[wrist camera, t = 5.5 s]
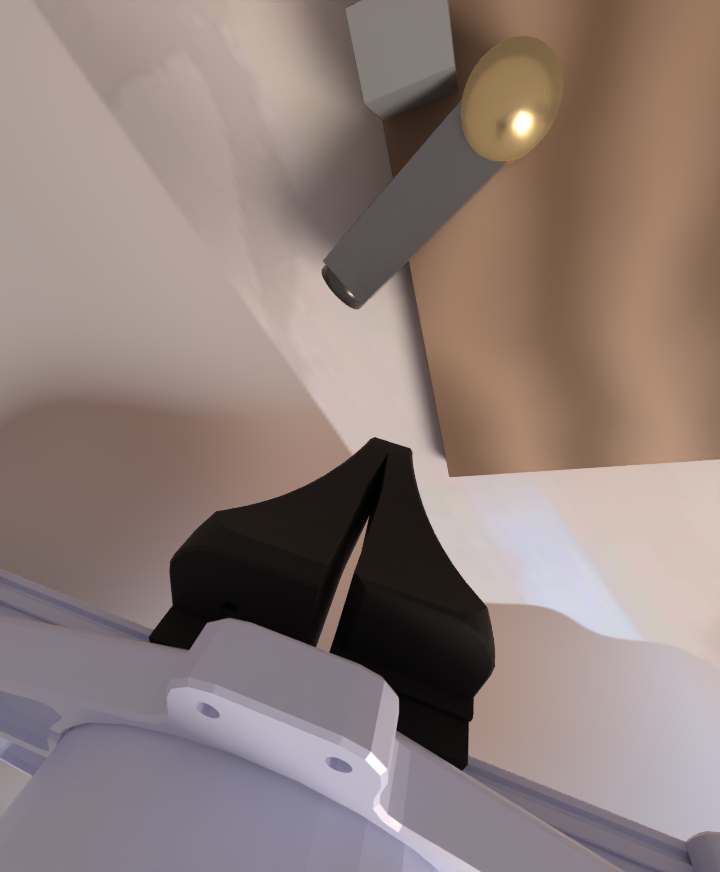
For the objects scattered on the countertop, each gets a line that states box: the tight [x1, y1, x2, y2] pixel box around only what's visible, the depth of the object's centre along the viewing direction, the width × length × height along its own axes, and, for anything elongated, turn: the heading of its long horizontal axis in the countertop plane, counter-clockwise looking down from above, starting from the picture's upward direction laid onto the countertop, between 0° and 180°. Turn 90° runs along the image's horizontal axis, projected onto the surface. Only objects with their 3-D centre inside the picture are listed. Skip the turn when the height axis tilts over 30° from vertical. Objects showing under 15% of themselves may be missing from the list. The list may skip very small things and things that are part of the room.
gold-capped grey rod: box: [322, 36, 563, 309], centre depth 15 cm, size 10×3×3 cm, turn 135°
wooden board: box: [360, 0, 720, 477], centre depth 16 cm, size 14×24×2 cm, turn 15°
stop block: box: [345, 0, 459, 121], centre depth 13 cm, size 3×2×3 cm
